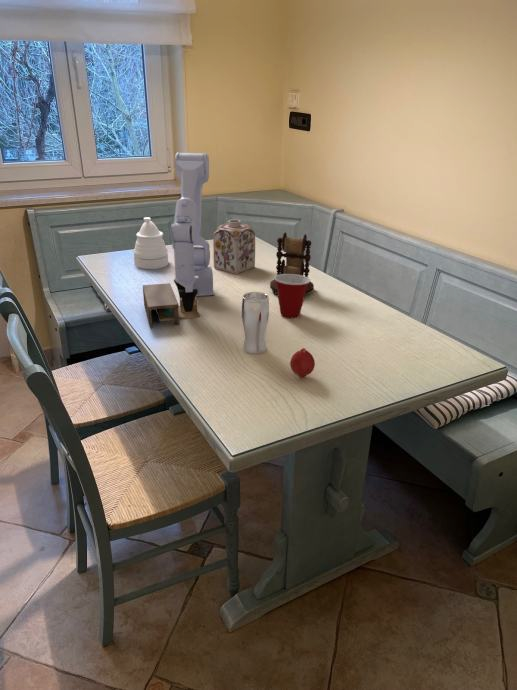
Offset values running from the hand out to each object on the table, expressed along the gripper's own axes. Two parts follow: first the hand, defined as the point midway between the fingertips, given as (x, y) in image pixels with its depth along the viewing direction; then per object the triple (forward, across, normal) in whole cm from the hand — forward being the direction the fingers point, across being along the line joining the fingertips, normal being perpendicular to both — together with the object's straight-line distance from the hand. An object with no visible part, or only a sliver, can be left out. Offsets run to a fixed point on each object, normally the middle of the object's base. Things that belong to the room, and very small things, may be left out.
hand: (186, 306), depth 160 cm
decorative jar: (+2, +39, -24) cm, 46 cm away
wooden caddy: (+2, 0, +8) cm, 8 cm away
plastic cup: (+2, -9, -30) cm, 32 cm away
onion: (+2, -46, -20) cm, 50 cm away
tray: (+2, 0, +3) cm, 4 cm away
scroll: (+2, +10, -38) cm, 39 cm away
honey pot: (+2, +51, +6) cm, 51 cm away
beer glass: (+2, -29, -14) cm, 32 cm away
